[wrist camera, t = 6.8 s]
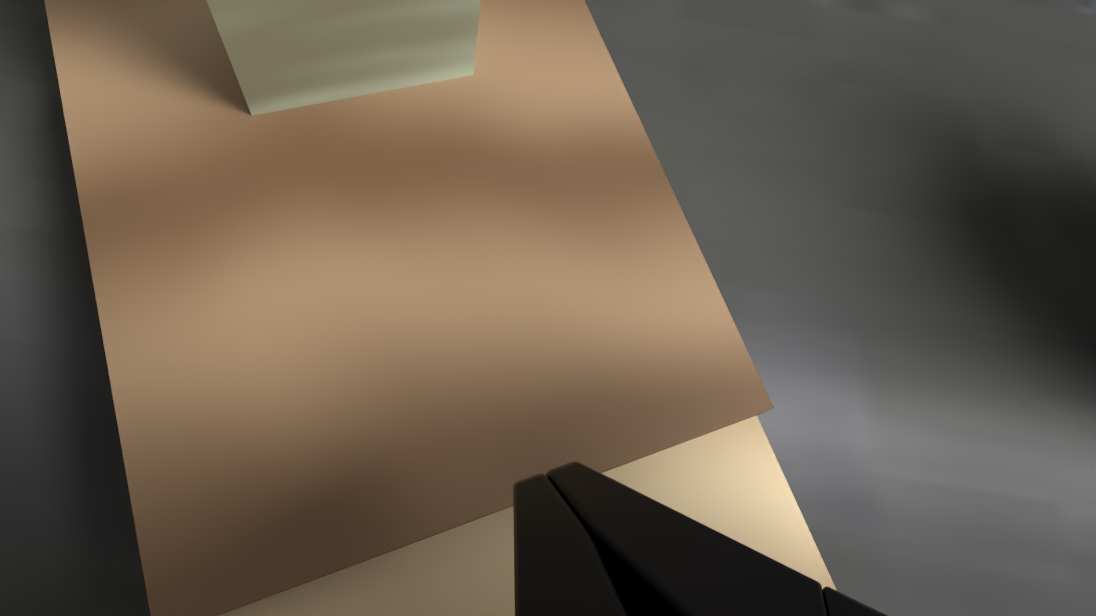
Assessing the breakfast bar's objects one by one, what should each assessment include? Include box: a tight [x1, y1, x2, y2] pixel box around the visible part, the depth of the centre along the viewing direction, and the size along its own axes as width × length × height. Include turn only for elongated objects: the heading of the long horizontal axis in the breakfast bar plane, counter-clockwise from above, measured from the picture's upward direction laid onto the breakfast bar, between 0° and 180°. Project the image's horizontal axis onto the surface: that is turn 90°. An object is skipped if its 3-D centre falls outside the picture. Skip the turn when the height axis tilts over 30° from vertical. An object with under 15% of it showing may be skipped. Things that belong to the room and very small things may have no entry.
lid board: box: [44, 0, 774, 616], centre depth 11 cm, size 14×12×10 cm
